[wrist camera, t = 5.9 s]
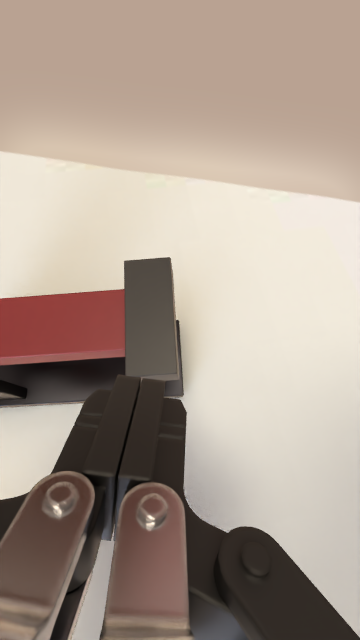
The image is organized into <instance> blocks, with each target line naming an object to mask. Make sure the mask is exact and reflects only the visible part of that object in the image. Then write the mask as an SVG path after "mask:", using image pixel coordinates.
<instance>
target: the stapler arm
mask: <svg viewBox="0 0 360 640" xmlns="http://www.w3.org/2000/svg"><path fill="white" fill-rule="evenodd" d="M124 288H125V289H121V290H108V291H95V292H82V293H68V294H55V295H42V296H29V297H15V298H2V299H0V365H13V364H27V363H41V362H56V361H70V360H84V359H98V358H112V357H125V375H126V376H133V377H140V378H141V382H142V379H143V378H148V379H156V380H163V381H168V380H179V364H178V348H177V332H176V315H175V299H174V283H173V271H172V264H171V258H170V257H168V258H155V259H142V260H129V261H124Z"/></svg>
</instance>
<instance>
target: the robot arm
mask: <svg viewBox="0 0 360 640" xmlns="http://www.w3.org/2000/svg"><path fill="white" fill-rule="evenodd" d="M165 383H166V381H163V380H156V379H148V378H143V379H142V383H141V378H140V377H133V376H126V375H118V376H117V378H116V380H115V383H114V386H113V389H112V390H105V389H97V390H96V391H95V392H94V393H92V394H91V395H90V396H89V397H88V398H86V400H85V402H84V404H83V407H82V409H81V411H80V414H79V415H78V417H77V419H76V422H75V425H74V426H73V428H72V430H71V432H70V434H69V437H68V439H67V441H66V443H65V445H64V447H63V450H62V452H61V454H60V456H59V458H58V460H57V462H56V465H55V467H54V469H53V471H52V472H51V474H50V475H49V476H47V477H45V478H43V479H42V480H40V481H39V482H38V483H37V484H36V485H35V486H34V487H33V488H32V489H31V491H30V492H28V493H26V494H24V495H21V496H18V497H14V498H9V499H4V500H0V640H71V639H72V636H73V633H74V630H75V627H76V624H77V621H78V617H79V614H80V611H81V608H82V605H83V602H84V599H85V596H86V593H87V590H88V586H89V583H90V580H91V577H92V573H93V568H94V565H95V561H96V557H97V553H98V549H99V545H100V541H101V539H102V540H109V541H111V538H112V533H113V529H114V541H115V544H114V551H113V558H112V565H111V572H110V579H109V586H108V593H107V600H106V607H105V614H104V620H103V626H102V630H101V634H100V639H99V640H360V638H359V636H358V635H357V634H356V633H355V632H354V631H353V630H352V628H351V627H350V626H349V625H348V624H347V623H346V621H345V620H344V619H343V618H342V617H341V616H340V615H339V613H338V612H337V611H336V610H335V609H334V608H333V606H332V605H331V604H330V603H329V602H328V601H327V599H326V598H325V597H324V596H323V595H322V594H321V593H320V591H319V590H318V589H317V588H316V587H315V586H314V584H313V583H312V582H311V581H310V580H309V579H308V577H307V576H306V575H305V574H304V573H303V572H302V571H301V569H300V568H299V567H298V566H297V565H296V564H295V562H294V561H293V560H292V559H291V558H290V557H289V556H288V554H287V553H286V552H285V551H284V550H283V549H282V547H281V546H280V545H279V544H278V543H277V542H276V541H275V540H274V539H273V538H272V537H271V536H270V535H268V534H267V533H265V532H263V531H262V530H259V529H257V528H253V527H246V526H244V527H238V528H235V529H233V530H231V531H230V532H229V533H226V532H224V531H222V530H220V529H218V528H216V527H214V526H212V525H210V524H208V523H206V522H205V521H203V520H202V519H200V518H199V517H198V516H197V515H196V514H195V513H194V512H193V511H192V510H191V508H190V507H189V505H188V503H187V501H186V499H185V496H184V489H183V483H184V460H185V437H186V414H187V412H186V410H185V408H184V406H183V404H182V402H181V400H179V399H172V398H164V390H165ZM114 525H115V528H114Z"/></svg>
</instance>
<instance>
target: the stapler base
mask: <svg viewBox="0 0 360 640" xmlns="http://www.w3.org/2000/svg"><path fill="white" fill-rule="evenodd" d="M176 332H177V348H178V364H179V380H168V381H166V383H165V390H164V398H173V397H183V395H184V393H183V377H182V361H181V346H180V330H179V320H176ZM118 375H125V357H112V358H98V359H84V360H70V361H56V362H41V363H27V364H13V365H0V408H1V407H19V406H36V405H53V404H70V403H84V402H85V400H86V398H88V397H89V396H90V395H91V394H92V393H94V392H95V391H96V390H97V389H105V390H112V389H113V386H114V383H115V380H116V378H117V376H118ZM141 383H142V382H141Z"/></svg>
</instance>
